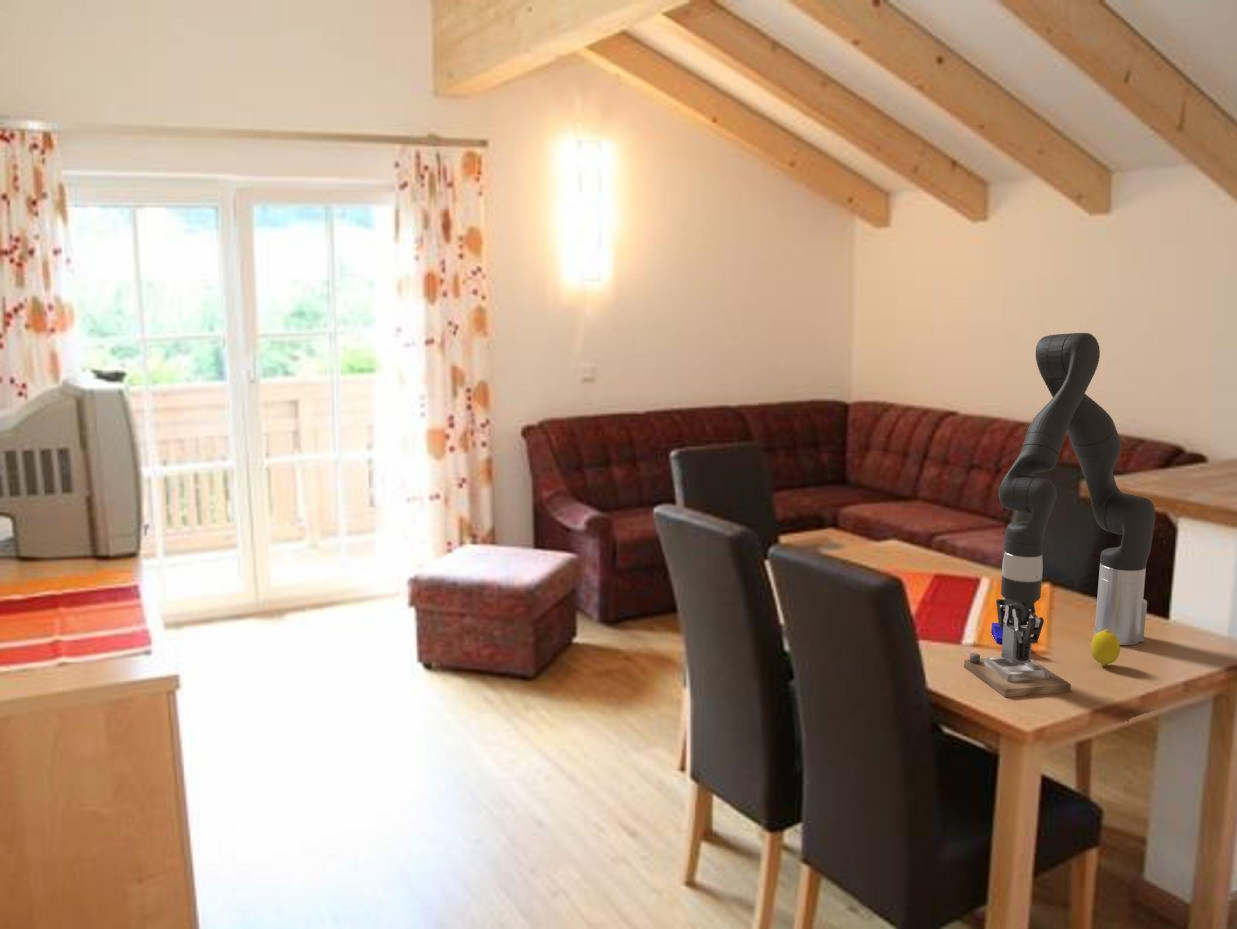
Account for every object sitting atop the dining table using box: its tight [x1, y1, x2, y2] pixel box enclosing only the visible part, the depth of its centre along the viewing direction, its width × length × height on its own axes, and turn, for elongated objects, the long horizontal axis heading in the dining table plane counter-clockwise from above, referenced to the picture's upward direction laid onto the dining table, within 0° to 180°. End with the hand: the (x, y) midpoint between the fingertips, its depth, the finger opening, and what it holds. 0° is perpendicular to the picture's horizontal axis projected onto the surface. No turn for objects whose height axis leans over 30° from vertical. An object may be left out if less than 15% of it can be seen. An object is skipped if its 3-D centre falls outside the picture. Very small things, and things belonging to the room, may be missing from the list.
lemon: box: [1090, 629, 1121, 667], centre depth 214 cm, size 6×6×8 cm
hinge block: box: [1000, 624, 1033, 664], centre depth 207 cm, size 4×4×7 cm
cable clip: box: [990, 616, 1004, 644], centre depth 228 cm, size 12×4×6 cm, turn 171°
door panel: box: [963, 652, 1072, 698], centre depth 208 cm, size 14×16×3 cm
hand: (1016, 655), depth 207 cm, fingers closed on hinge block, 4 cm apart
